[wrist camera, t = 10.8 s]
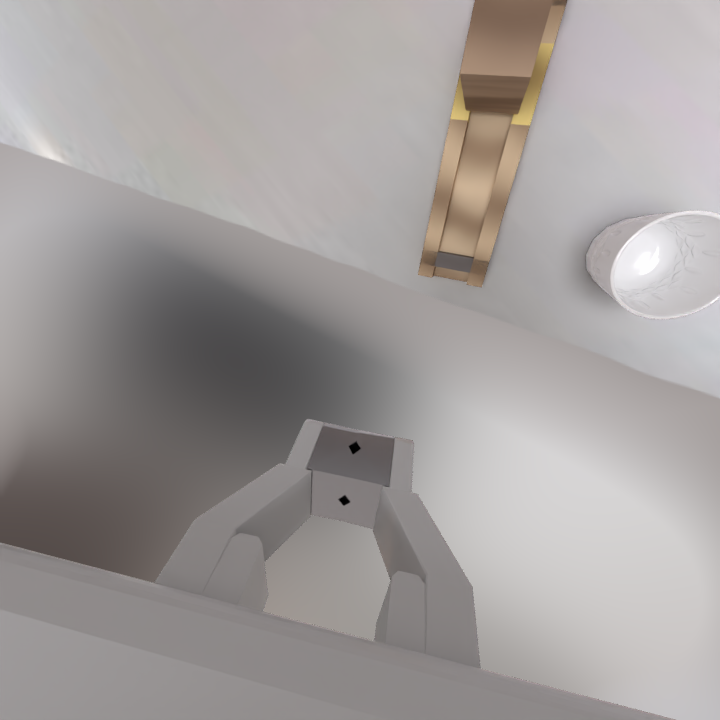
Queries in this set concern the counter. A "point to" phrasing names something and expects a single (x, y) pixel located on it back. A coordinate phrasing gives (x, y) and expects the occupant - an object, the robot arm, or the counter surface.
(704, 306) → the white cup
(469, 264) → the beam
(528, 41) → the plate
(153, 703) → the robot arm
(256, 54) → the counter surface
